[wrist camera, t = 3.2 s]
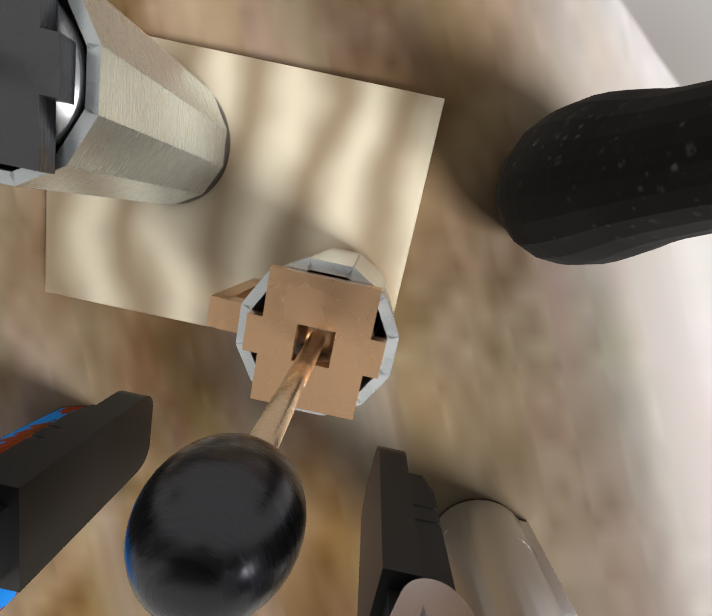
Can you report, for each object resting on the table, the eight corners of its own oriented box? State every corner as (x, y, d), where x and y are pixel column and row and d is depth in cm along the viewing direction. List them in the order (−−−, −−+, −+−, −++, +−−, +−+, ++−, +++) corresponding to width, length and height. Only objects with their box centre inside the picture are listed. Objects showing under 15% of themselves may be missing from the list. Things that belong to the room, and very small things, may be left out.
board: (441, 105, 29) (444, 98, 27) (381, 357, 33) (381, 363, 32) (65, 25, 29) (48, 14, 27) (59, 289, 34) (45, 291, 32)
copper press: (397, 260, 30) (415, 282, 17) (375, 354, 32) (377, 437, 19) (272, 233, 30) (198, 236, 17) (257, 329, 32) (181, 395, 19)
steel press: (238, 82, 28) (85, -83, 13) (222, 215, 30) (76, 201, 15) (79, 49, 28) (-250, -155, 13) (75, 184, 30) (-210, 140, 15)
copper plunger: (384, 293, 20) (416, 481, 5) (361, 395, 21) (332, 776, 6) (274, 270, 20) (-17, 387, 5) (258, 372, 21) (-7, 702, 6)
